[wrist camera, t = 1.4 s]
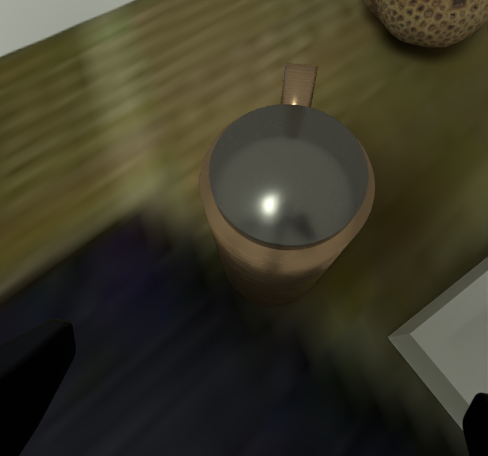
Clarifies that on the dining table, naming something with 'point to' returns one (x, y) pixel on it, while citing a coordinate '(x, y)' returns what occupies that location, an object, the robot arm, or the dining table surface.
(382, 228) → the dining table surface
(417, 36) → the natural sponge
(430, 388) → the tray
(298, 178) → the spout can
